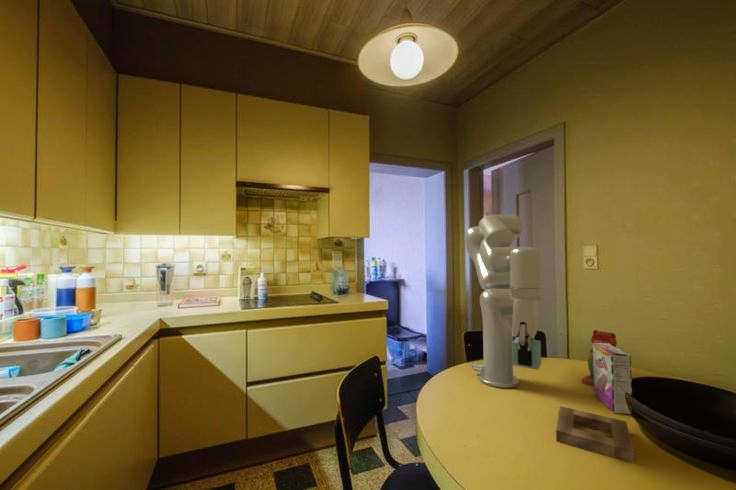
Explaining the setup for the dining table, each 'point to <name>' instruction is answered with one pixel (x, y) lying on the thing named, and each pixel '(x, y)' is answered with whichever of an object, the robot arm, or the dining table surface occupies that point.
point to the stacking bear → (596, 338)
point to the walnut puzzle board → (604, 445)
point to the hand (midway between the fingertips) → (526, 360)
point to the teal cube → (535, 353)
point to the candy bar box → (612, 376)
